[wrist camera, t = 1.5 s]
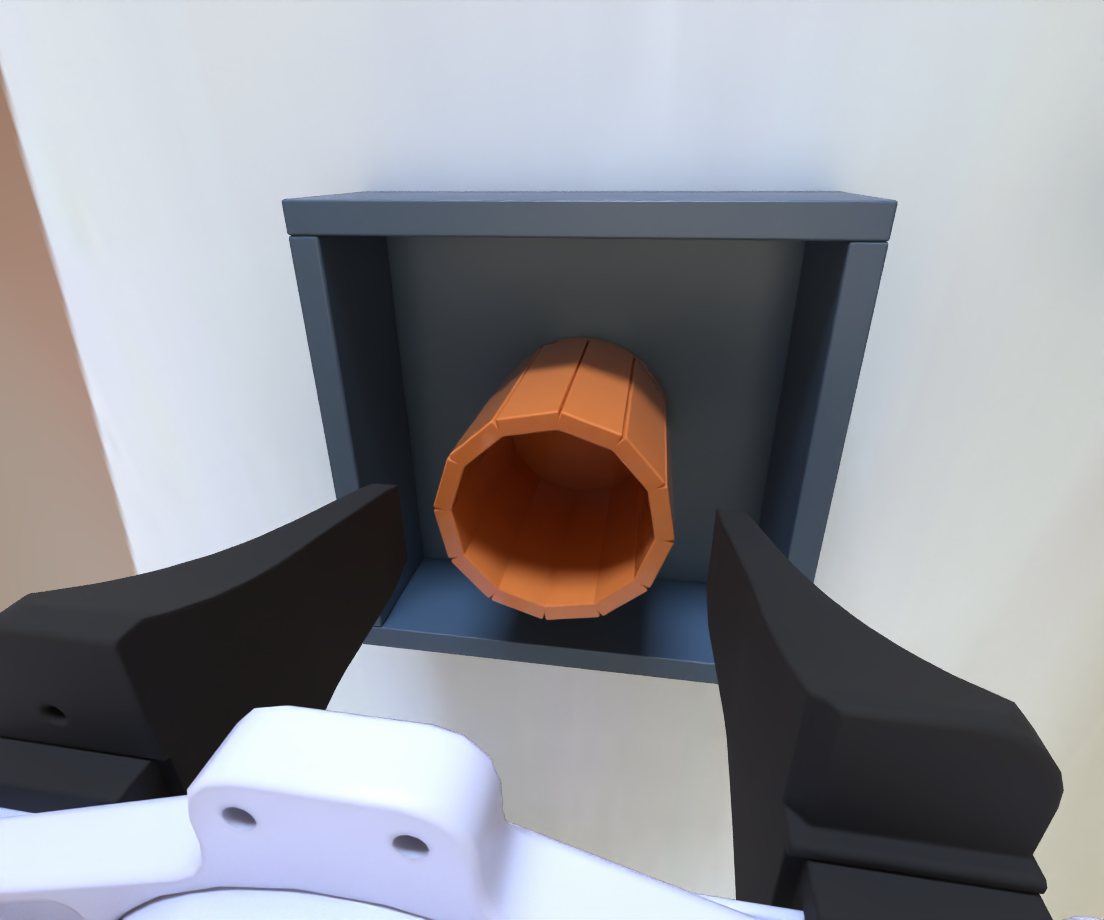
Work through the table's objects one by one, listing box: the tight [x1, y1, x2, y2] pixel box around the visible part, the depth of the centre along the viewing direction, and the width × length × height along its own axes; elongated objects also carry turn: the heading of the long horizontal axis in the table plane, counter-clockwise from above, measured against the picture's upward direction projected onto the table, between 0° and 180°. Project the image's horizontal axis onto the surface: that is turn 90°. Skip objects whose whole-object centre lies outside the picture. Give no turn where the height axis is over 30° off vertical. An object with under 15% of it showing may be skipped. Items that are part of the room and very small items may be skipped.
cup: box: [434, 337, 675, 620], centre depth 17 cm, size 6×6×6 cm
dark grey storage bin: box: [282, 191, 897, 684], centre depth 18 cm, size 14×14×4 cm
